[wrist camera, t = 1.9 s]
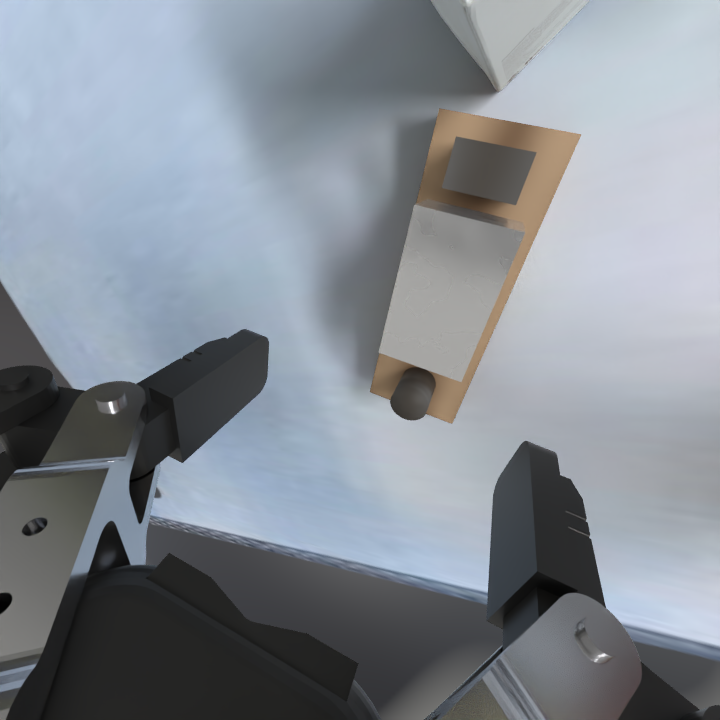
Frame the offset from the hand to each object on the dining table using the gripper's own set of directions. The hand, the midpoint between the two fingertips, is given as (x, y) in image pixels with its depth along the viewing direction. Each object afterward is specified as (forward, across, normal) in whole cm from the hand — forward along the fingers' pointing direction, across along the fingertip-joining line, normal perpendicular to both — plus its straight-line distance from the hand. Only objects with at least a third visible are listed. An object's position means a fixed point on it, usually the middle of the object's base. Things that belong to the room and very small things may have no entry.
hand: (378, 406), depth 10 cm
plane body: (+20, 0, +2) cm, 20 cm away
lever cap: (+14, 0, 0) cm, 14 cm away
